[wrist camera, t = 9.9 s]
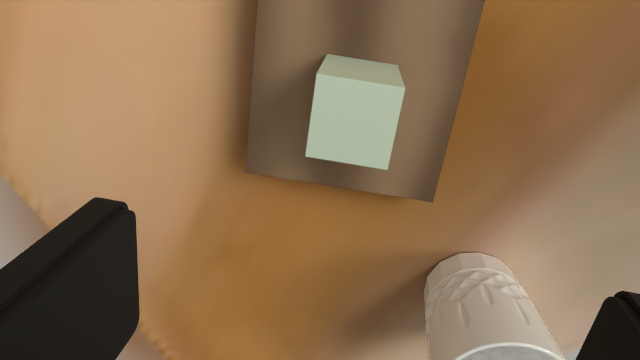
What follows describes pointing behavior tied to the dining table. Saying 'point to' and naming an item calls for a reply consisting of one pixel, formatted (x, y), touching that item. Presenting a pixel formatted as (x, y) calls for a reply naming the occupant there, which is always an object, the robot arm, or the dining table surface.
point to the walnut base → (367, 44)
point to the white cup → (482, 313)
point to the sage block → (355, 111)
